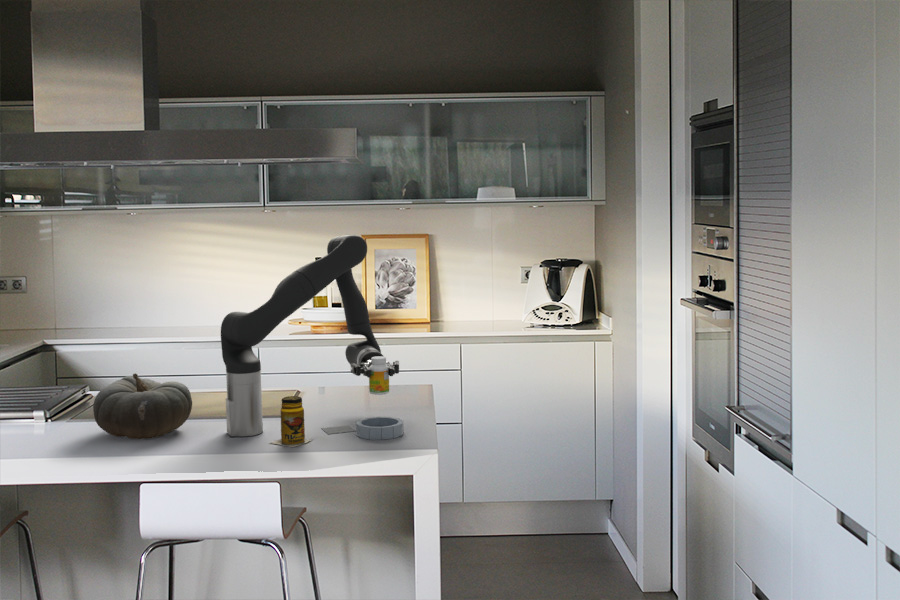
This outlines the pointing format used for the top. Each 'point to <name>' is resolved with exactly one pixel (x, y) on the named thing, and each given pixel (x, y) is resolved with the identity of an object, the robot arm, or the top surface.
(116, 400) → the gourd
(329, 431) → the mat
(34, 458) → the top surface
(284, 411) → the condiment
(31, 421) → the top surface
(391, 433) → the bowl
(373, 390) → the supplement bottle
